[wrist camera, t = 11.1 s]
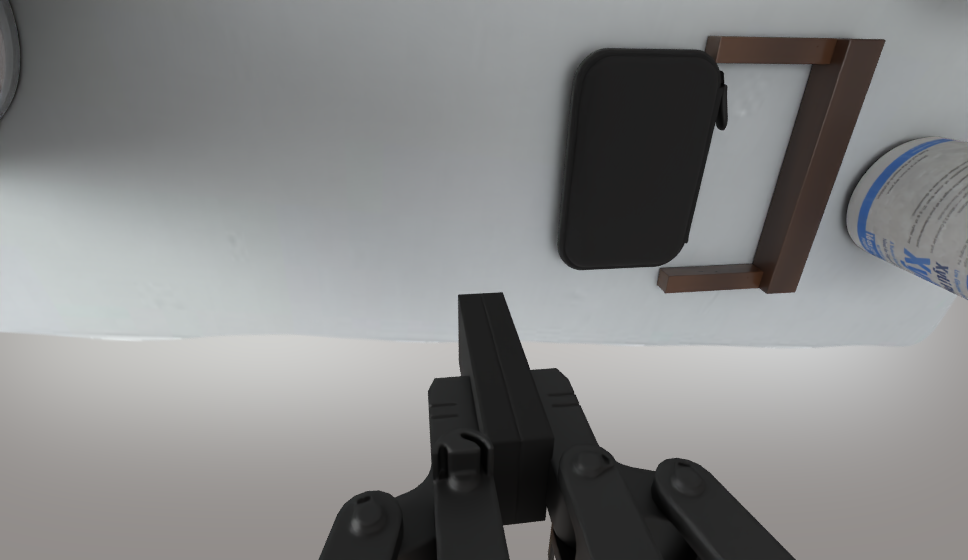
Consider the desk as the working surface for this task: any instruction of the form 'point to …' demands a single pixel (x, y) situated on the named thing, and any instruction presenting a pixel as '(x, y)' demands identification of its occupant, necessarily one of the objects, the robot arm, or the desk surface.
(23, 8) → the desk surface
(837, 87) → the brown u-shaped frame
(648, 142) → the carrying case
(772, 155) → the desk surface
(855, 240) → the supplement tub
